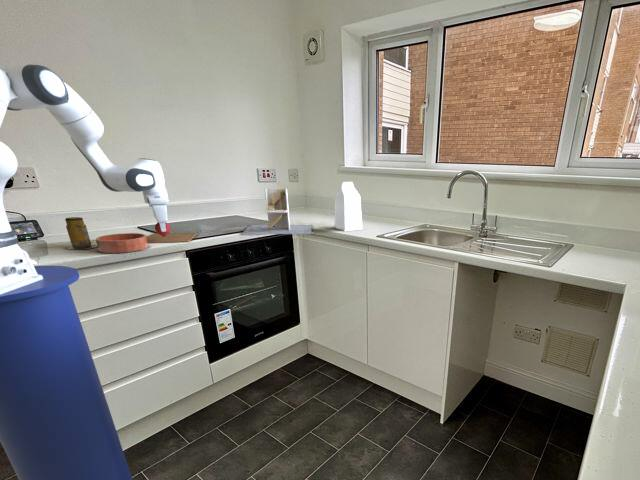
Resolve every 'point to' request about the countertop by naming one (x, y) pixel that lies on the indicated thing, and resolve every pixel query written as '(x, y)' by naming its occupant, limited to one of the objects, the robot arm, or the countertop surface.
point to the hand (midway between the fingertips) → (163, 230)
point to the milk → (348, 208)
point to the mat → (171, 237)
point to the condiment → (78, 233)
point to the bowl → (122, 242)
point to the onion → (158, 230)
